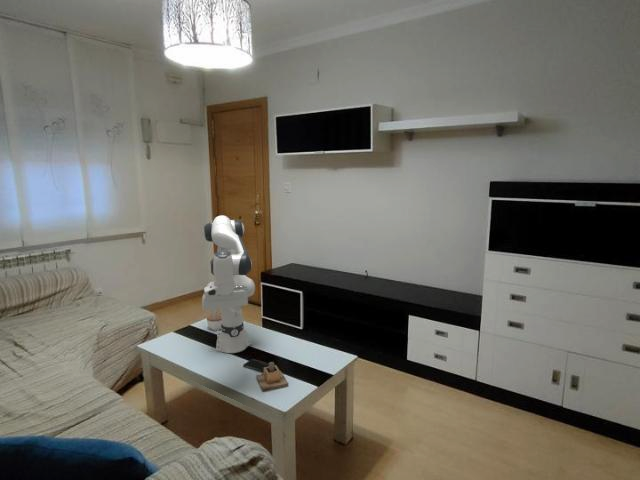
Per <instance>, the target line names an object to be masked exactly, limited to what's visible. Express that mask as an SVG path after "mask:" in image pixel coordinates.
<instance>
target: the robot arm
mask: <svg viewBox="0 0 640 480" xmlns="http://www.w3.org/2000/svg"><path fill="white" fill-rule="evenodd" d="M202 233H203V236H204V239H205V240H206V241H207V242H209V243H210V242H211V243H212V242H213V244H215V245H216V246H217V251H216V252H215V253H214V255H213V258H212V259H211V260H210V274H211V275H213V276H214V280H213V281H210V282H208V283H207V285H206V286H205V287H204V288H203V292H204V293H203V294H202V298H201V299H202V300H201V309H202V310H203V312H210V313H211V314H212V315H213V318H214V319H217V314H214V313H215V311H216V310H219V311H220V312H219V313H221V318H222V324H221V329H220V332H219V334H216V337H217V339H216V344H215V345H216V347H215V351H216V352H223V353H226V354H235V353H241V352H243V351H245V350H246V349H247V348H248V347H249V346H251V342H250V341H249V340H248V332H247V330H246V329H244V328H245V326H244V325H245V323H244V321H243V319H244V318H243V309H242V307H244V306H245V307H246V306H247V305H248V304H249V297H252V296H253V295H254V293H255V291H256V285H255V282H254V280H253V279H252V278H250V277H248V276H247V275H248V274H250V272H252V268H253V262H252V259H251V256H250V254H248V250H247V248H246V246H245V243H244V241H243V239H242V238H243V236H244V233H245V226H244V223H243V222H242V221H241V220H240V219H230V218H229V217H228V216H226V215H218V216H216V217H214V220H212V222H208V223H206V224H205V225H204V226H203V232H202Z"/></svg>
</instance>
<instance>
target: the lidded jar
mask: <svg viewBox="0 0 640 480" xmlns="http://www.w3.org/2000/svg"><path fill="white" fill-rule="evenodd" d="M213 313H214V314H217V319H214V318H213V315H212V313H211V314H208V315H207V316H206V323H207V326H208V328H209V329H210V330H212V331H219V330H221V324H222V318H221V312H216V313H215V312H213Z"/></svg>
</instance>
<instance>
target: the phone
mask: <svg viewBox="0 0 640 480" xmlns="http://www.w3.org/2000/svg"><path fill="white" fill-rule="evenodd" d="M242 367H243V368H245V369H247V370H251V371H255V372H258V373H261V374H264V367H269V362H265V361H261V360H258V359H255V358H254V359H253V358H251V359H249V360H248V361H247V362H245V363H243V365H242Z"/></svg>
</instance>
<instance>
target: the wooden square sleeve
mask: <svg viewBox="0 0 640 480" xmlns="http://www.w3.org/2000/svg"><path fill="white" fill-rule="evenodd" d="M274 368H275V371H273V372H269V367H264V373H263V374H264V379H265V380H266V382H267V384H270V383H274V382H279V381H280V369H279V367H278V366H277V364H274Z"/></svg>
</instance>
